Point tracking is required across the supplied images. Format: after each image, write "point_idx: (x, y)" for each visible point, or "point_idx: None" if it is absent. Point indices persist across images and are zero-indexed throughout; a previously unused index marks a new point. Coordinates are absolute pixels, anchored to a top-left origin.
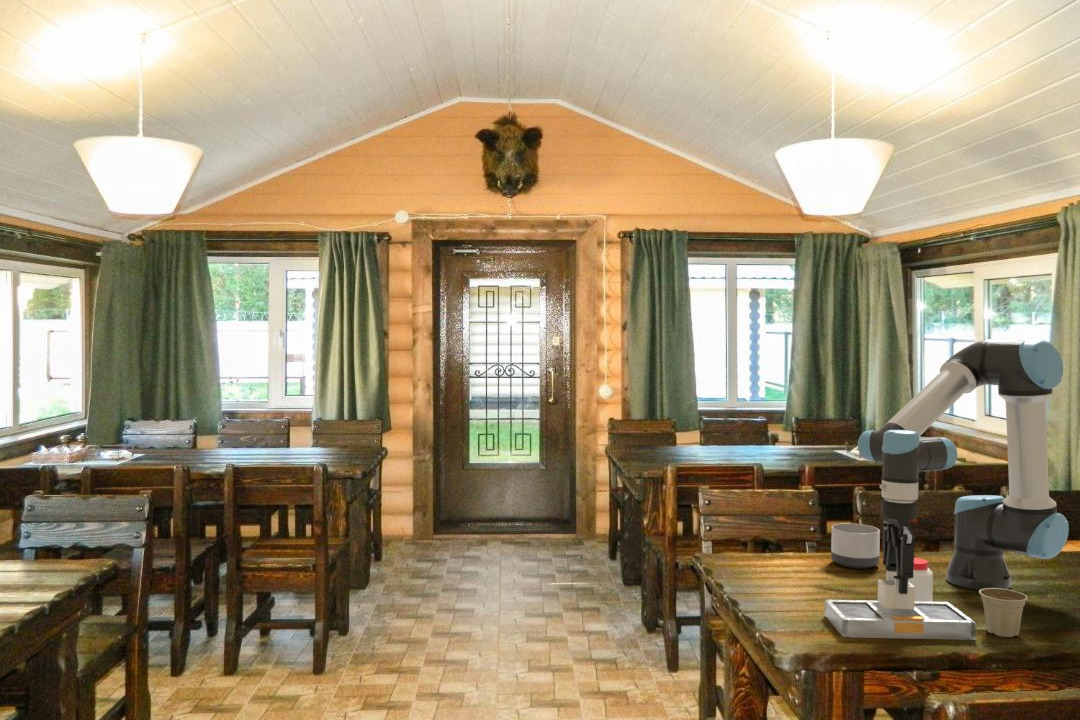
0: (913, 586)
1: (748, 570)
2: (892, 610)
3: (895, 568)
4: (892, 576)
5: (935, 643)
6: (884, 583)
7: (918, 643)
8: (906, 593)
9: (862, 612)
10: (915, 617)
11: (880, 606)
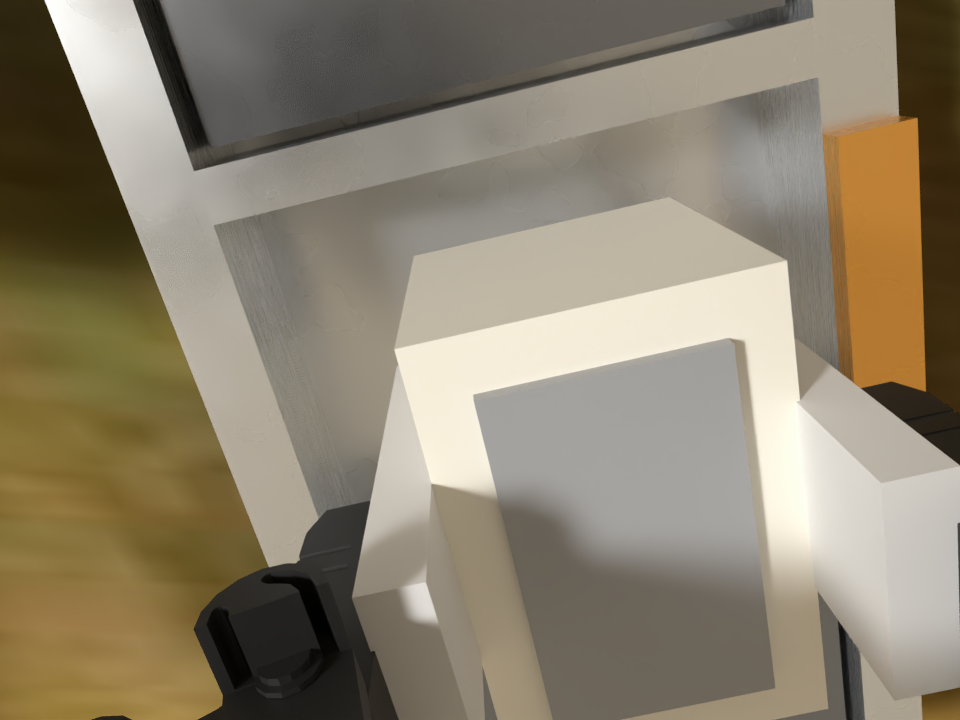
0: (756, 286)
1: None
2: (284, 344)
3: (369, 701)
4: (461, 639)
5: (914, 4)
6: (694, 708)
7: (928, 166)
8: (899, 391)
9: None
10: (881, 208)
11: (316, 471)
